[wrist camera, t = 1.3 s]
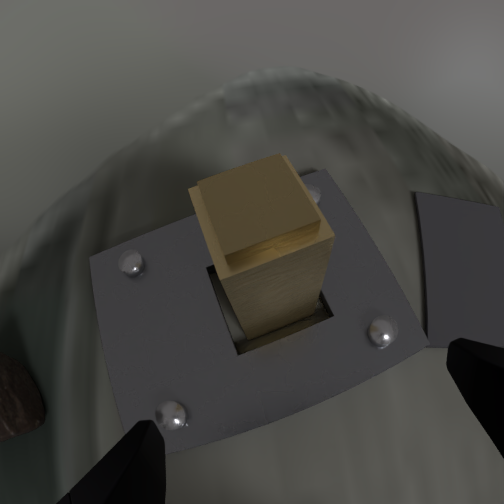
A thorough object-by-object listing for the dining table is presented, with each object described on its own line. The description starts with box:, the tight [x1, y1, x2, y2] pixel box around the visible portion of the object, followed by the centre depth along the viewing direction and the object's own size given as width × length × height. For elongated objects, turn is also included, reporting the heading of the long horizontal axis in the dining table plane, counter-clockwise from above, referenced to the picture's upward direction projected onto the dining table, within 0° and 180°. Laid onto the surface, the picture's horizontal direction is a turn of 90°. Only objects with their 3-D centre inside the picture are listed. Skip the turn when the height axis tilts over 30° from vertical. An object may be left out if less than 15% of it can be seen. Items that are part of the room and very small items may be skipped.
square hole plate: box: [89, 169, 430, 454], centre depth 22 cm, size 17×22×2 cm
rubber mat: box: [414, 192, 504, 348], centre depth 23 cm, size 14×10×1 cm
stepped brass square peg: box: [188, 153, 335, 341], centre depth 18 cm, size 5×5×12 cm
